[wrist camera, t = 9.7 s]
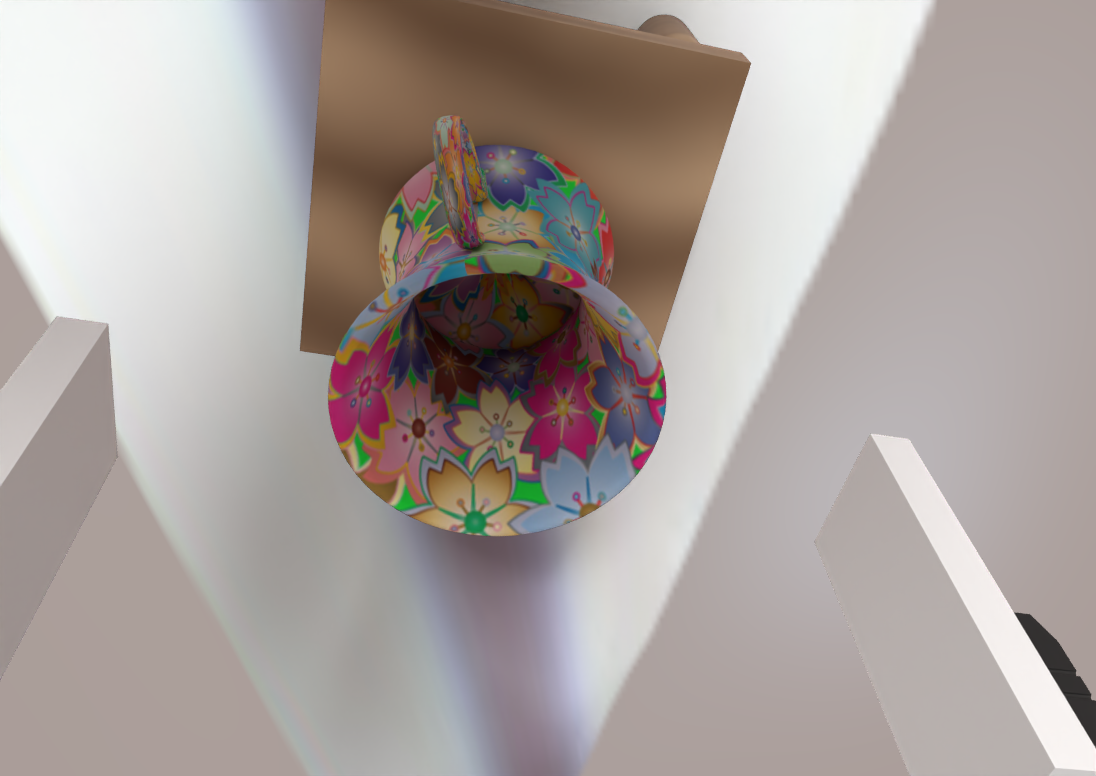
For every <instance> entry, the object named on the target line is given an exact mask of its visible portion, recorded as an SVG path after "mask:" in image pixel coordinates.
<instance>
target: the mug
mask: <svg viewBox="0 0 1096 776" xmlns="http://www.w3.org/2000/svg"><path fill="white" fill-rule="evenodd" d="M432 138H433V150H434V158H435V161H433V162H432V163H430V164H428V165H427V166H426V167H424V168H423V169H421V170H420V171H419V172H418V173H417V174H415V175H414V176H413V177H412V178H411V179H410V180H409V181H408V182H407V183H406V184H405V185H404V186H403V187H402V189H401V190H400V191H399V193H398V194H397V195H396V197H395V199H394V200H393V202H392V204H391V205H390V207H389V210H388V212H387V214H386V216H385V219H384V222H383V226H382V230H381V235H380V242H379V261H380V269H381V273H382V278H383V281H384V284H385V287H386V289H387V290H385V291H384V292H383V293H382V294H381V295H379V296H378V297H377V298H376V299H375V300H373V301H372V302H371V303H370V304H369V305H368V306H367V307H366V308H365V309H364V310H363V311H362V312H361V313H360V315H359V316H358V317H357V318H356V320H355V321H354V322H353V324H352V325H351V326H350V328H349V330H348V331H347V333H346V334H345V336H344V338H343V340H342V342H341V344H340V346H339V348H338V350H337V353H336V356H335V359H334V362H333V365H332V369H331V374H330V379H329V389H328V405H329V414H330V420H331V425H332V428H333V431H334V435H335V438H336V440H337V442H338V445H339V447H340V449H341V451H342V453H343V455H344V457H345V458H346V460H347V462H348V464H349V465H350V466H351V468H352V469H353V471H354V472H355V473H356V475H357V476H358V477H359V478H360V479H361V480H362V481H363V483H364V484H365V485H366V486H367V487H368V488H370V489H371V490H372V491H373V492H374V493H375V494H376V495H377V496H379V497H380V498H381V499H382V500H384V501H385V502H386V503H388V504H389V505H391V506H392V507H394V508H396V509H397V510H399V511H400V512H402V513H404V514H406V515H408V516H410V517H412V518H414V519H416V520H419V521H421V522H423V523H426V524H429V525H432V526H435V527H438V528H441V529H445V530H449V531H453V532H458V533H464V534H471V535H480V536H513V535H522V534H529V533H534V532H540V531H544V530H548V529H552V528H555V527H558V526H561V525H564V524H567V523H570V522H572V521H574V520H576V519H579V518H581V517H583V516H585V515H587V514H589V513H591V512H592V511H594V510H596V509H598V508H599V507H601V506H602V505H604V504H605V503H607V502H608V501H609V500H611V499H612V498H613V497H615V496H616V495H617V494H618V493H620V492H621V491H622V490H623V489H624V488H625V487H626V486H627V485H628V484H629V483H630V482H631V481H632V480H633V478H634V477H635V476H636V475H637V474H638V473H639V471H640V470H641V469H642V467H643V466H644V464H645V463H646V461H647V460H648V458H649V456H650V454H651V453H652V451H653V449H654V447H655V444H656V442H657V440H658V437H659V434H660V431H661V428H662V425H663V420H664V415H665V408H666V382H665V376H664V370H663V367H662V363H661V360H660V356H659V353H658V351H657V349H656V346H655V344H654V341H653V340H652V338H651V336H650V334H649V333H648V331H647V329H646V328H645V326H644V325H643V324H642V322H641V321H640V319H639V318H638V317H637V316H636V314H635V313H634V312H633V311H632V310H631V309H630V308H629V307H628V306H627V305H626V304H625V303H624V302H623V301H622V300H621V299H620V298H618V297H617V296H616V295H615V294H614V293H613V292H611V291H610V290H608V289H607V288H608V285H609V282H610V279H611V275H612V270H613V263H614V244H613V237H612V231H611V227H610V224H609V221H608V218H607V216H606V213H605V211H604V209H603V207H602V205H601V203H600V202H599V200H598V198H597V197H596V195H595V194H594V193H593V191H592V190H591V189H590V188H589V186H588V185H587V184H586V183H585V182H584V181H583V180H582V179H581V178H580V177H579V176H578V175H577V174H575V173H574V172H573V171H572V170H570V169H569V168H568V167H566V166H565V165H563V164H561V163H560V162H558V161H557V160H555V159H553V158H551V157H549V156H547V155H544V154H542V153H539V152H536V151H533V150H530V149H526V148H522V147H516V146H509V145H483V146H475V147H474V144H473V141H472V138H471V136H470V133H469V130H468V128H467V126H466V124H465V122H464V120H463V119H462V118H461V117H459V116H456V115H449V116H443V117H440V118H438V119H437V120H436V121H435V122H434V124H433V129H432Z"/></svg>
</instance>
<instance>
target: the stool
mask: <svg viewBox="0 0 1096 776" xmlns="http://www.w3.org/2000/svg"><path fill="white" fill-rule="evenodd" d="M750 65H751V63H750V61H749V60H748V59H747V58H746V57H745V56H744V55H743V54H742V53H740V52H736V51H731V50H726V49H722V48H717V47H712V46H708V45H703V44H700V43H699V42H698V41H697V39H696V38H695V37H694V35H693V34H692V33H691V32H690V30H689V29H688V28H687V26H686V25H685V24H684V23H683V22H682V21H681V20H680V19H678V18H676V17H674V16H671V15H657V16H654V17H652V18H650V19H648V20H647V21H645V22H644V23H643V24H642V25H641V26H640V28H639V29H638V30H633V29H628V28H624V27H619V26H614V25H610V24H605V23H600V22H596V21H591V20H586V19H582V18H577V17H572V16H568V15H563V14H558V13H554V12H549V11H544V10H540V9H535V8H530V7H526V6H521V5H516V4H512V3H507V2H502V1H498V0H326V1H325V15H324V28H323V42H322V56H321V69H320V83H319V97H318V111H317V124H316V138H315V152H314V165H313V179H312V193H311V206H310V220H309V234H308V248H307V261H306V275H305V289H304V302H303V316H302V330H301V343H300V351H304V352H311V353H318V354H324V355H331V356H336V353H337V350H338V348H339V346H340V344H341V342H342V340H343V338H344V336H345V334H346V333H347V331H348V330H349V328H350V326H351V325H352V324H353V322H354V321H355V320H356V318H357V317H358V316H359V315H360V313H361V312H362V311H363V310H364V309H365V308H366V307H367V306H368V305H369V304H370V303H371V302H372V301H373V300H375V299H376V298H377V297H378V296H379V295H381V294H382V293H383V292H384V291H385V290H387V289H386V287H385V284H384V281H383V278H382V273H381V269H380V261H379V242H380V235H381V230H382V226H383V222H384V219H385V216H386V214H387V212H388V210H389V207H390V205H391V204H392V202H393V200H394V199H395V197H396V195H397V194H398V193H399V191H400V190H401V189H402V187H403V186H404V185H405V184H406V183H407V182H408V181H409V180H410V179H411V178H412V177H413V176H414V175H415V174H417V173H418V172H419V171H420V170H421V169H423V168H424V167H426V166H427V165H428V164H430V163H432V162H433V161H435V158H434V150H433V138H432V129H433V124H434V122H435V121H436V120H437V119H438V118H440V117H443V116H449V115H456V116H459V117H461V118H462V119H463V120H464V122H465V124H466V126H467V128H468V130H469V133H470V136H471V138H472V141H473V144H474V147H475V146H483V145H509V146H516V147H522V148H526V149H530V150H533V151H536V152H539V153H542V154H544V155H547V156H549V157H551V158H553V159H555V160H557V161H558V162H560V163H561V164H563V165H565V166H566V167H568V168H569V169H570V170H572V171H573V172H574V173H575V174H577V175H578V176H579V177H580V178H581V179H582V180H583V181H584V182H585V183H586V184H587V185H588V186H589V188H590V189H591V190H592V191H593V193H594V194H595V195H596V197H597V198H598V200H599V202H600V203H601V205H602V207H603V209H604V211H605V213H606V216H607V218H608V221H609V224H610V227H611V231H612V237H613V244H614V263H613V270H612V275H611V279H610V282H609V285H608V288H607V289H608V290H610V291H611V292H613V293H614V294H615V295H616V296H617V297H618V298H620V299H621V300H622V301H623V302H624V303H625V304H626V305H627V306H628V307H629V308H630V309H631V310H632V311H633V312H634V313H635V314H636V316H637V317H638V318H639V319H640V321H641V322H642V324H643V325H644V326H645V328H646V329H647V331H648V333H649V334H650V336H651V338H652V340H653V341H654V344H655V346H656V349H657V351H658V349H659V346H660V343H661V340H662V337H663V334H664V331H665V328H666V325H667V322H668V318H669V315H670V312H671V309H672V306H673V303H674V300H675V297H676V294H677V291H678V288H679V284H680V281H681V278H682V275H683V272H684V269H685V266H686V263H687V260H688V257H689V254H690V251H691V247H692V244H693V241H694V238H695V235H696V232H697V229H698V226H699V223H700V220H701V217H702V213H703V210H704V207H705V204H706V201H707V198H708V195H709V192H710V189H711V186H712V183H713V179H714V176H715V173H716V170H717V167H718V164H719V161H720V158H721V155H722V152H723V149H724V145H725V142H726V139H727V136H728V133H729V130H730V127H731V124H732V121H733V118H734V115H735V111H736V108H737V105H738V102H739V99H740V96H741V93H742V90H743V87H744V84H745V81H746V77H747V74H748V71H749V68H750Z"/></svg>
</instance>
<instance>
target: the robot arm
mask: <svg viewBox="0 0 1096 776" xmlns="http://www.w3.org/2000/svg"><path fill="white" fill-rule="evenodd" d="M117 457H118V456H117V441H116V427H115V413H114V399H113V385H112V371H111V357H110V343H109V328H108V324H107V323H100V322H93V321H86V320H79V319H72V318H65V317H58V316H57V317H56V318H55V319H54V321H53V322H52V323H51V325H50V326H49V327H48V329H47V330H46V331H45V332H44V334H43V335H42V336H41V338H40V339H39V340H38V342H37V343H36V344H35V346H34V347H33V348H32V350H31V351H30V352H29V354H28V355H27V356H26V358H25V359H24V360H23V361H22V363H21V364H20V365H19V367H18V368H17V369H16V371H15V372H14V373H13V375H12V376H11V377H10V378H9V380H8V381H7V382H6V384H5V385H4V386H3V388H2V389H1V390H0V680H1V678H2V676H3V674H4V672H5V670H6V668H7V666H8V665H9V663H10V661H11V659H12V657H13V655H14V653H15V651H16V649H17V648H18V646H19V644H20V642H21V640H22V638H23V636H24V634H25V632H26V630H27V628H28V626H29V625H30V623H31V621H32V619H33V617H34V615H35V613H36V611H37V609H38V607H39V606H40V604H41V602H42V600H43V598H44V596H45V594H46V592H47V590H48V588H49V587H50V585H51V583H52V581H53V579H54V577H55V575H56V573H57V571H58V569H59V567H60V566H61V564H62V562H63V560H64V558H65V556H66V554H67V552H68V550H69V548H70V547H71V545H72V543H73V541H74V539H75V537H76V535H77V533H78V531H79V529H80V527H81V526H82V523H83V522H84V520H85V518H86V516H87V514H88V512H89V510H90V508H91V507H92V505H93V503H94V500H95V499H96V496H97V495H98V493H99V491H100V489H101V487H102V485H103V484H104V482H105V480H106V478H107V476H108V474H109V472H110V470H111V468H112V466H113V465H114V463H115V461H116V459H117ZM815 544H816V547H817V550H818V552H819V555H820V557H821V559H822V562H823V564H824V567H825V569H826V572H827V574H828V577H829V579H830V582H831V584H832V586H833V588H834V591H835V594H836V596H837V599H838V601H839V604H840V606H841V608H842V611H843V613H844V616H845V618H846V621H847V623H848V626H849V628H850V631H851V633H852V636H853V638H854V640H855V643H856V645H857V648H858V650H859V653H860V655H861V658H862V660H863V663H864V665H865V667H866V670H867V672H868V675H869V677H870V679H871V682H872V684H873V687H874V689H875V692H876V694H877V697H878V699H879V702H880V704H881V707H882V709H883V712H884V714H885V717H886V719H887V721H888V724H889V726H890V728H891V731H892V734H893V736H894V738H895V741H896V744H897V746H898V748H899V751H900V753H901V756H902V758H903V761H904V763H905V766H906V768H907V771H908V773H909V775H910V776H1096V701H1094V700H1091V693H1090V692H1089V690H1088V688H1087V687H1086V685H1085V684H1084V682H1083V680H1082V679H1081V677H1079V676H1076V669H1075V668H1074V667H1073V665H1072V663H1071V662H1070V660H1069V658H1068V657H1067V655H1066V654H1065V652H1064V650H1063V649H1062V647H1061V646H1060V644H1059V643H1058V642H1057V640H1056V639H1055V638H1054V637H1053V636H1052V635H1051V634H1049V633H1048V631H1046V629H1044V628H1043V627H1042V626H1041V625H1040V624H1039V623H1038V622H1037V621H1036V620H1035V619H1034V618H1033V617H1032V616H1031V615H1030V614H1022V613H1014V612H1013V611H1012V609H1011V607H1010V606H1009V604H1008V602H1007V601H1006V599H1005V597H1004V596H1003V594H1002V593H1001V591H1000V589H999V587H998V586H997V584H996V582H995V581H994V579H993V577H992V576H991V574H990V573H989V571H988V569H987V568H986V566H985V564H984V563H983V561H982V559H981V558H980V556H979V554H978V553H977V551H976V550H975V548H974V546H973V544H972V543H971V541H970V540H969V538H968V536H967V535H966V533H965V531H964V530H963V528H962V526H961V525H960V523H959V521H958V520H957V518H956V516H955V515H954V513H953V511H952V510H951V508H950V506H949V505H948V503H947V501H946V500H945V498H944V496H943V495H942V493H941V491H940V490H939V488H938V487H937V485H936V483H935V482H934V480H933V478H932V477H931V475H930V473H929V472H928V470H927V469H926V467H925V465H924V463H923V462H922V460H921V458H920V457H919V455H918V453H917V452H916V450H915V449H914V447H913V445H912V443H911V442H910V440H909V439H905V438H898V437H891V436H883V435H877V434H870V435H869V437H868V439H867V441H866V443H865V445H864V447H863V449H862V451H861V452H860V454H859V456H858V458H857V460H856V462H855V464H854V466H853V468H852V470H851V472H850V474H849V476H848V478H847V480H846V481H845V483H844V485H843V487H842V489H841V491H840V493H839V495H838V497H837V499H836V501H835V503H834V505H833V507H832V509H831V510H830V512H829V514H828V516H827V518H826V520H825V522H824V524H823V526H822V528H821V530H820V532H819V534H818V536H817V538H816V539H815Z"/></svg>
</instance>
